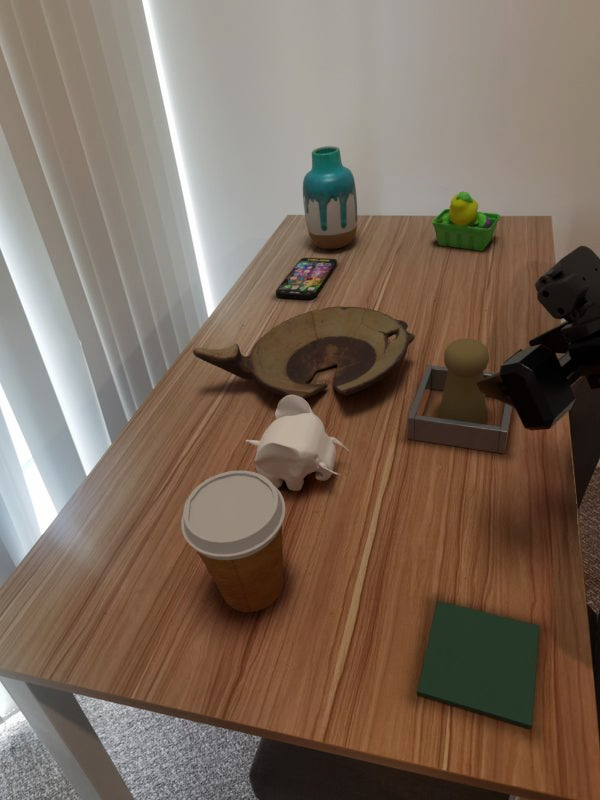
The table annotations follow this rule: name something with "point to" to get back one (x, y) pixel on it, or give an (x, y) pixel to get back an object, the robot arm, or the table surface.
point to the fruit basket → (465, 224)
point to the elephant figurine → (295, 446)
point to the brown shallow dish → (319, 351)
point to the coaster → (481, 663)
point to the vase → (330, 200)
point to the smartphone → (306, 278)
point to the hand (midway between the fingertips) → (506, 365)
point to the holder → (451, 429)
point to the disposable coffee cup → (238, 536)
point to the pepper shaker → (464, 382)
